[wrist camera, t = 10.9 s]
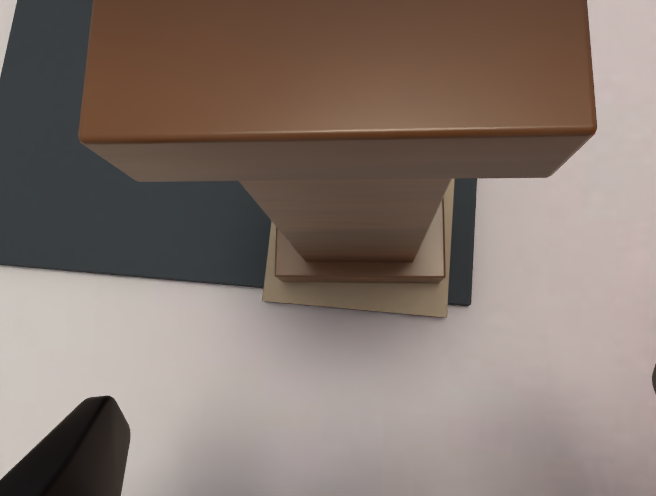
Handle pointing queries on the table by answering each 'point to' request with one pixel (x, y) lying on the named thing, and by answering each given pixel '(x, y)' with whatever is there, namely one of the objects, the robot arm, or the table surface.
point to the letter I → (340, 112)
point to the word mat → (155, 195)
